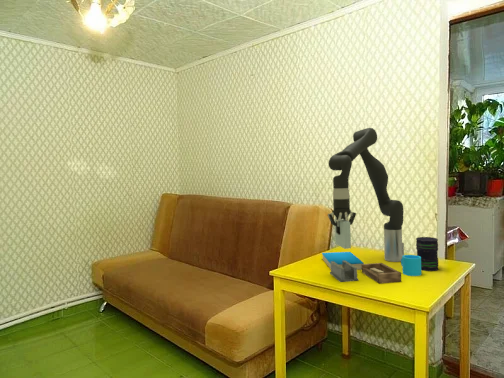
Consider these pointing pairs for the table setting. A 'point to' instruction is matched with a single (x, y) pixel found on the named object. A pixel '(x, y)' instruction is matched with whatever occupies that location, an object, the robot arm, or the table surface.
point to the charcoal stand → (344, 271)
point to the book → (342, 259)
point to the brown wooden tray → (385, 277)
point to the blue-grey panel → (343, 235)
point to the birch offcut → (376, 270)
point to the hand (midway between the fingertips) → (342, 233)
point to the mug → (411, 265)
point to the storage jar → (427, 253)
